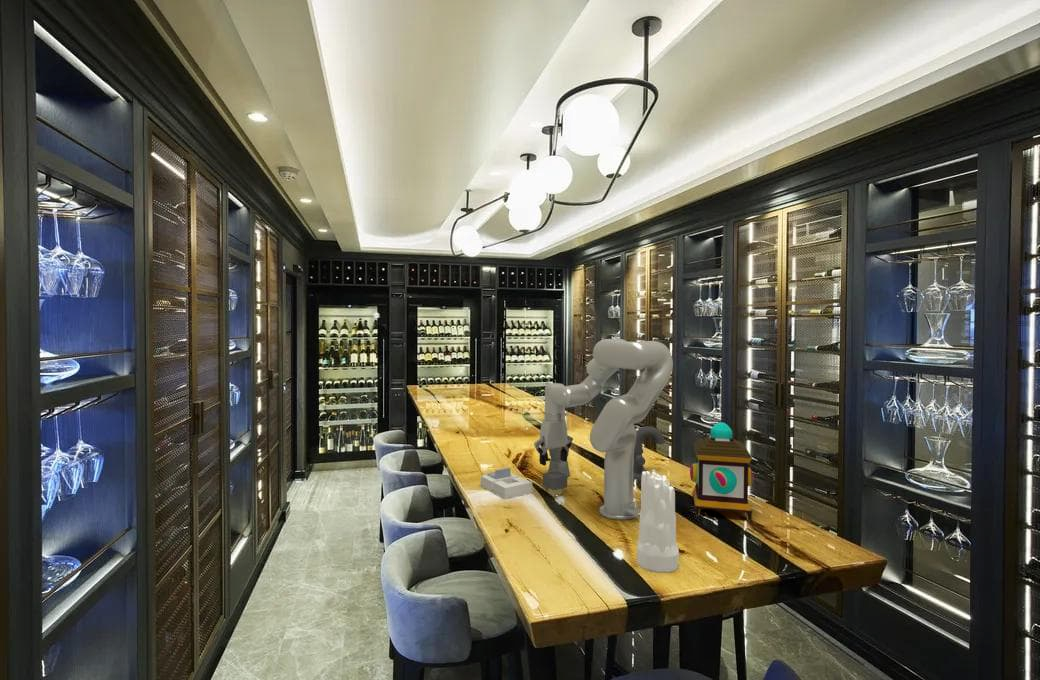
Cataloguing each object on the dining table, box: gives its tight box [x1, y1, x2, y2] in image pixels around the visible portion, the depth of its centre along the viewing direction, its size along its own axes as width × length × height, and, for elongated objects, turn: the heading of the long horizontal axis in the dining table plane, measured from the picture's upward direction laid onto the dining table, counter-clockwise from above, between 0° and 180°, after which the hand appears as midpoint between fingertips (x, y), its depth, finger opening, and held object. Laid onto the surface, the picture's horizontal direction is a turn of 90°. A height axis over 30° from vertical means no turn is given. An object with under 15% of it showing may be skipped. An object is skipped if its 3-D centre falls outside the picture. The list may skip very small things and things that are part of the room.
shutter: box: [486, 467, 511, 479], centre depth 205 cm, size 7×7×3 cm
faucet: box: [633, 425, 666, 480], centre depth 221 cm, size 18×16×20 cm
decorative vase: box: [636, 468, 680, 573], centre depth 139 cm, size 11×11×25 cm
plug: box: [542, 471, 568, 497], centre depth 195 cm, size 6×6×8 cm
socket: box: [480, 472, 533, 500], centre depth 201 cm, size 18×12×4 cm, turn 34°
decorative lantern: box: [689, 422, 754, 522], centre depth 178 cm, size 20×20×30 cm
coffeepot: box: [543, 439, 571, 479], centre depth 216 cm, size 15×9×18 cm, turn 129°
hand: (553, 462), depth 195 cm, fingers open, 9 cm apart
